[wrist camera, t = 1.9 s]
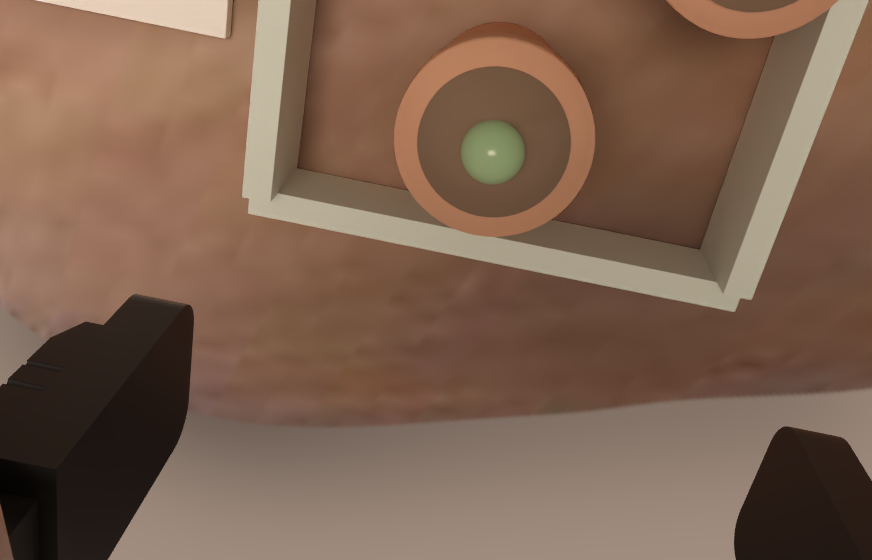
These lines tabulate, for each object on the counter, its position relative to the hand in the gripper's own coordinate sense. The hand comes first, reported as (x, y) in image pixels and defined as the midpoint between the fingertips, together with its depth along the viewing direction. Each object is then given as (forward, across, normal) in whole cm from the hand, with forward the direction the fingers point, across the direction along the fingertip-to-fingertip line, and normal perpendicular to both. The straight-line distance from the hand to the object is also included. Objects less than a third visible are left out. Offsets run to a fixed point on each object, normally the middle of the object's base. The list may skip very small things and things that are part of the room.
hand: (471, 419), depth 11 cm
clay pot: (+21, 0, 0) cm, 21 cm away
